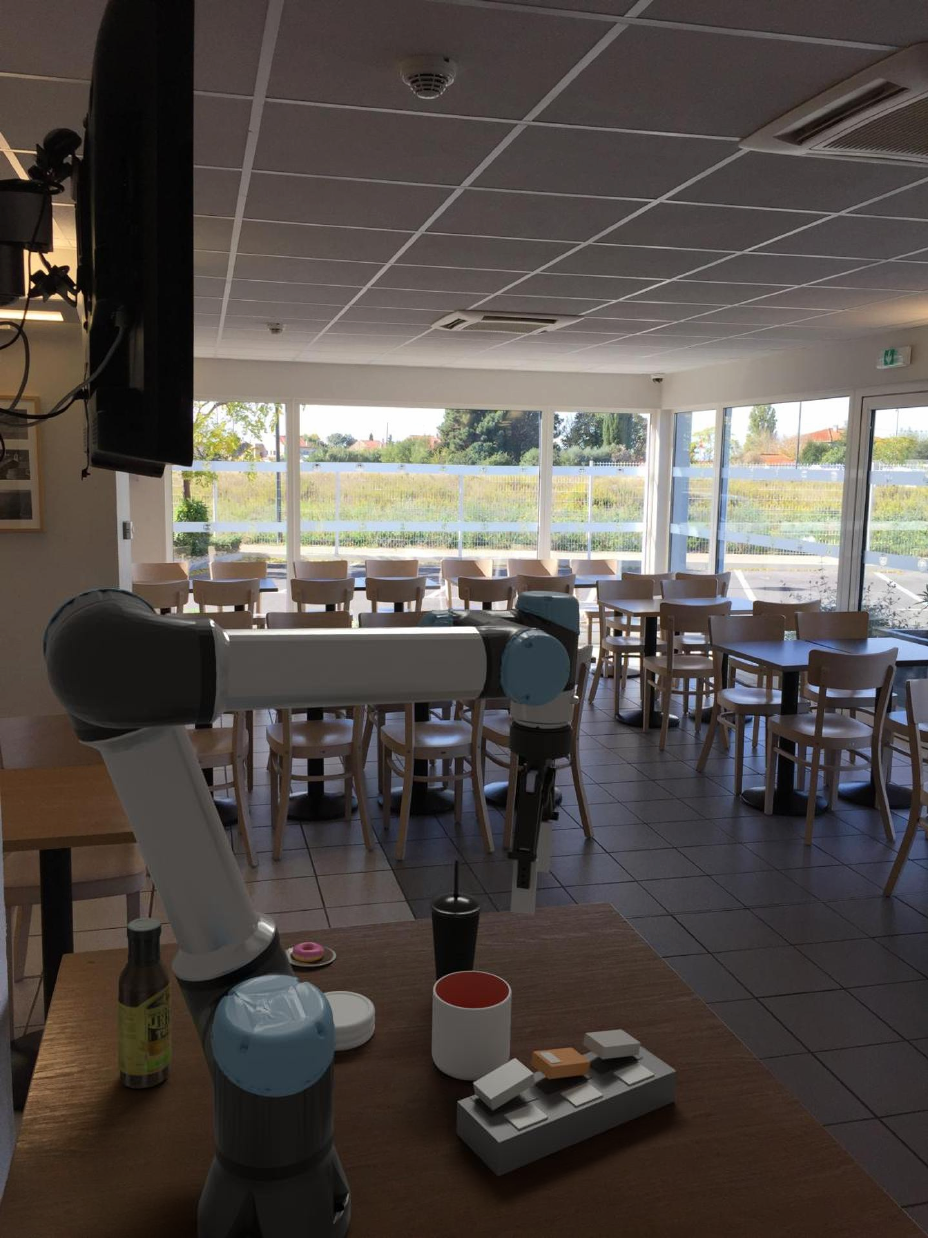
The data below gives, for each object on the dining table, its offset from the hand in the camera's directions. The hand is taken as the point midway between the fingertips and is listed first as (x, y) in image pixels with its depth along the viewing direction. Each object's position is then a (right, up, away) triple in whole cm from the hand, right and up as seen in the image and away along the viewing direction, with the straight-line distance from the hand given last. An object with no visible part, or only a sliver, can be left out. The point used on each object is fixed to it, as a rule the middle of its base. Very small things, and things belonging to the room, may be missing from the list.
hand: (531, 890), depth 125 cm
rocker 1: (-4, -20, -8) cm, 22 cm away
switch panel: (+4, -26, -5) cm, 26 cm away
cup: (-7, -24, +6) cm, 26 cm away
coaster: (-25, -23, +13) cm, 36 cm away
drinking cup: (-10, -21, +24) cm, 33 cm away
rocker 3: (+10, -19, +1) cm, 22 cm away
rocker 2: (+3, -20, -4) cm, 21 cm away
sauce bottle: (-48, -24, +1) cm, 53 cm away
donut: (-32, -20, +32) cm, 50 cm away
